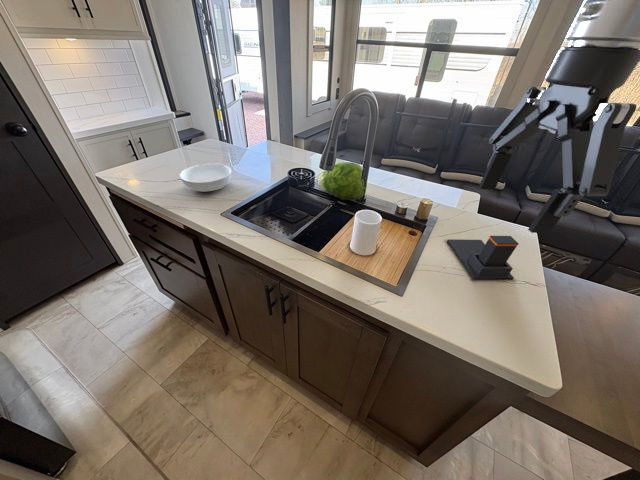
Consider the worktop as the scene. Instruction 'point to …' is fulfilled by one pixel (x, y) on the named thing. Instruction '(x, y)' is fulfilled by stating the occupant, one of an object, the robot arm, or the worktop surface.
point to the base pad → (468, 257)
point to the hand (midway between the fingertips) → (509, 207)
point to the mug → (365, 232)
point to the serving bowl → (206, 177)
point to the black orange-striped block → (497, 251)
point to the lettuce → (343, 181)
